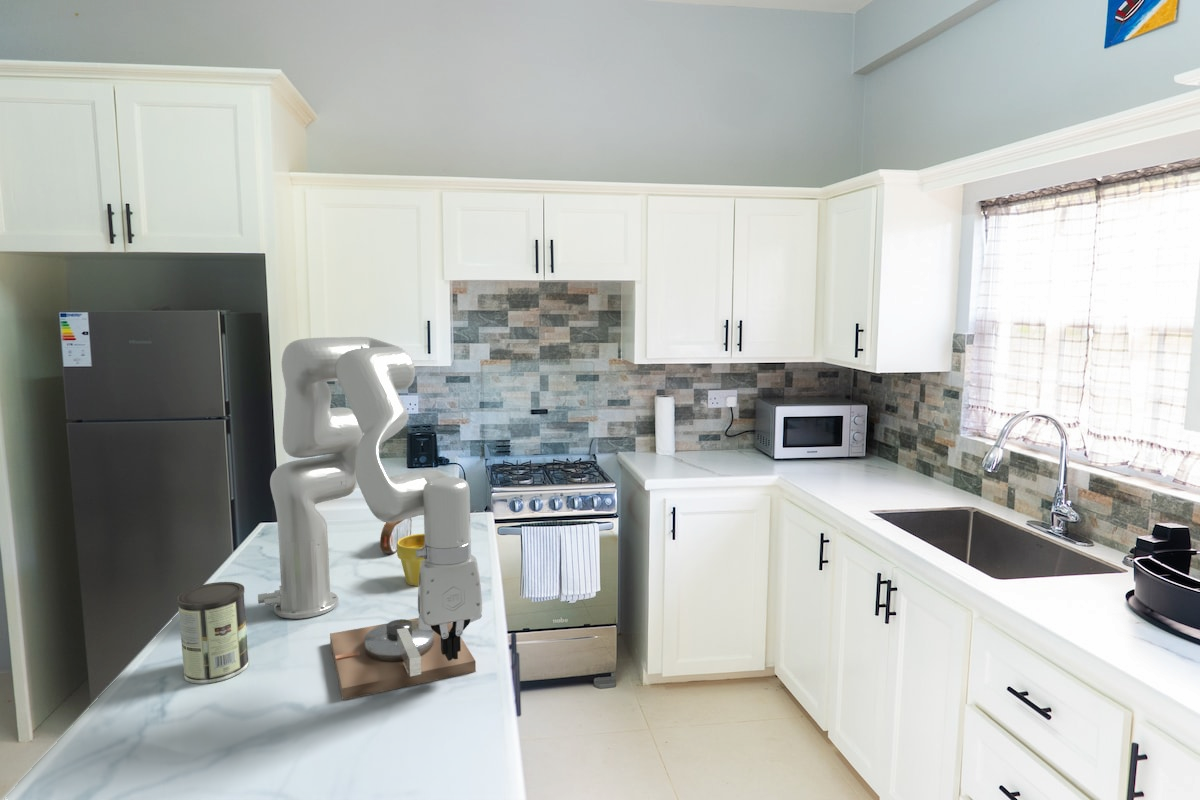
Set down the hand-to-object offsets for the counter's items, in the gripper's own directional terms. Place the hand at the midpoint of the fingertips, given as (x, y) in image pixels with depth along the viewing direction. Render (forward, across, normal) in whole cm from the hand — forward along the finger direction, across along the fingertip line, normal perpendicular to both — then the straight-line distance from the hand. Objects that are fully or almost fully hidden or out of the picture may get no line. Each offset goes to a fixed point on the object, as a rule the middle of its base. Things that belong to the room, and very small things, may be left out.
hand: (451, 656), depth 123 cm
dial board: (+4, -6, +12) cm, 14 cm away
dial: (+2, -7, +8) cm, 10 cm away
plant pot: (+4, +4, +48) cm, 49 cm away
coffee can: (+4, -36, +21) cm, 42 cm away
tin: (+4, +4, +74) cm, 74 cm away
